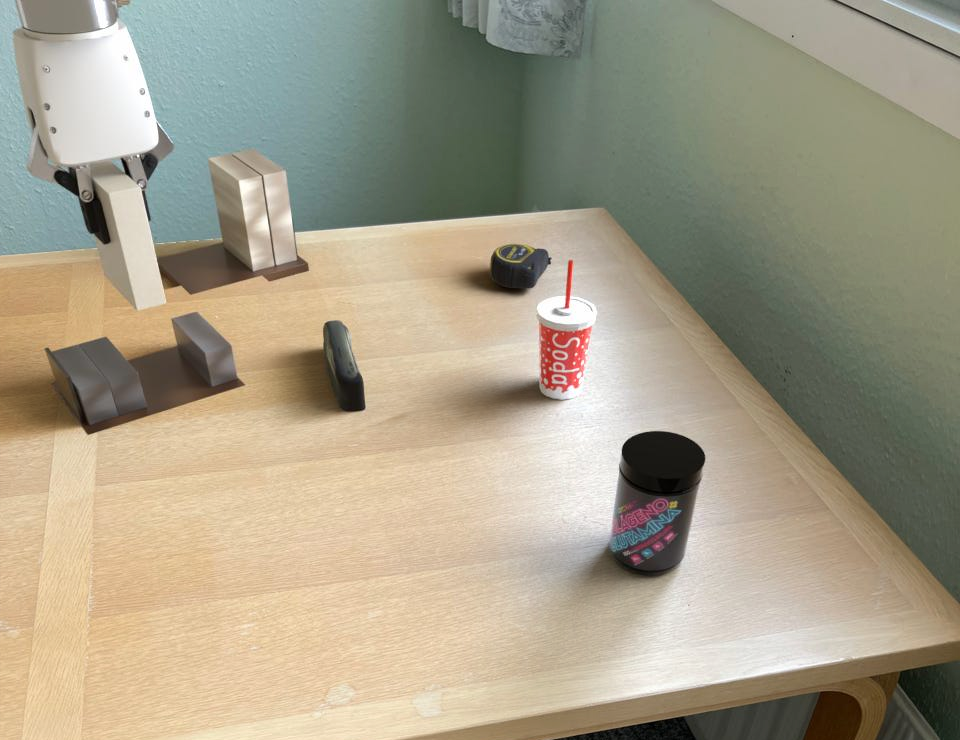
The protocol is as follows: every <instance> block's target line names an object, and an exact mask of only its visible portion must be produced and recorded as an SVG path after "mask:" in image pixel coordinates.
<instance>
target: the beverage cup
mask: <svg viewBox="0 0 960 740" xmlns="http://www.w3.org/2000/svg"><path fill="white" fill-rule="evenodd" d="M573 267H574V260H572V259H569V260H568V261H567V272H566V286H565V287H566V288H565V295H563V296H561V295H560V296H552V297H550V298H549V297H548V298H545V299H543V300H542V301H540V302H539V303H538V305H537V307H536V318H537V320H538V349H539V350H538V354H539V355H538V358H539V359H538V362H539V364H538V365H539V366H538V367H539V368H538V369H539V371H538V373H539V376H538V377H539V379H538V380H539V384H538V385H539V390H540V392H541V394H543V395H544V396H546V397H548V398H551V399H554V400H561V401H562V400H570V399H574V398H576V397H578V396H579V395H581V393H582V390H583V385H584V378H585V373H586V366H587V362H588V361H587V360H588V355H589V348H590V343H591V337H592V336H591V335H592V330H593V325H594V324H595V322H596V319H597V314H598V310H597V307H596V306H595V304H594V303H592V302H590V301H588V300H586V299H584V298H580V297H578V296H577V297H576V296H571V294H572V293H571V292H572V279H573V270H574V269H573Z"/></svg>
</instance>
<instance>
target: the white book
mask: <svg viewBox="0 0 960 740" xmlns="http://www.w3.org/2000/svg"><path fill="white" fill-rule="evenodd" d="M89 169H90V175H91V182H92V188H93V191H94V192H95V195H96V197H97V198H98V199H99V200H100V202H101V204H102V208H103V212H104V216H105V220H106V224H107V228H108V232H109V235H110V239H111V242H110V243H109V244H105V245H104V244H103V243H102V242H101V241H100V240H99V239H98V238H97V237H96V236H95V235H94V234H93V237H94V241H95V245H96V249H97V253H98V256H99V260H100V264H101V268H102V272H103V276H104V277H105V278H106V279H107V280H108V282H110V284H111V285H112V286H113V287H114V288H115V289H116V290H117V291H118V292H119V294H120V295H121V296H122V297H123V298H124V299H125V300H126V301H127V302H128V303H129V304H130V305H131V306H132V307H133V308H134V309H135V311H136V312H139V311H143V310H148V309H152V308H156V307H159V306H163V305H166V304H167V300H166V295H165V290H164V286H163V282H162V277H161V271H160V270H159V268H158V263H157V255H156V250H155V246H154V241H153V236H152V232H151V227H150V223H149V222H148V218H147V214H146V209H145V205H144V200H143V196H142V191H141V187H140V186H139V185H137V184H136V183H135V182H134V181H133V180H132V179H131V178H129V177H128V176H127V175H126V174H125V173H124V172H123V169H121V168H119V167H118V166H117V165H116V164H115V163H114V162H113V161H112V160H108V161H103V162H97V163H92V164H89Z"/></svg>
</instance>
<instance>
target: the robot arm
mask: <svg viewBox="0 0 960 740" xmlns="http://www.w3.org/2000/svg"><path fill="white" fill-rule="evenodd" d="M14 3H15V7H16V10H17V14H18V17H19V22H20V25H21V27H18V28H15V29H14V30H13V31H12V40H13V50H14V58H15V65H16V71H17V75H18V76H17V77H18V80H19V87H20V91H21V96H22V100H23V105H24V108H25V114H26V118H27V122H28V127H29V131H30V134H31V142H30V146H29V151H28V156H27V160H26V170H27V171H28V172H29V173H30V174H31V176H32V177H34V178H37V179H41V180H44V181H46V182H50V183H54V184H56V185H58V186H60V187H62V188H64V189H65V190H67V191H68V192H69V193H71V194H73V195H74V196H76V197H77V199H78V203H79V207H80V210H81V214H82V217H83V221H84V225H85V228H86V230H87V232H88V233H89V235H93V236H94V235H95V236H96V237H97V238H98V239H99V240H100V241H101V242H102V243H103V244H104V245H105V244H109V243H110V242H111V239H110V235H109V232H108V228H107V224H106V220H105V216H104V212H103V208H102V204H101V202H100V200H99V199H98V198H97V197H96V195H95V192H94V191H93V188H92V182H91V175H90V169H89V164H92V163H97V162H103V161H108V160H110V161H113V160H117V159H118V161H119V163H120V165H121V170H122V171H123V172H124V173H125V174H126V175H127V176H128V177H129V178H131V179H132V180H133V181H134V182H135V183H136V184H137V185H139V186H140V187H141V191H142V196H143V200H144V205H145V209H146V214H147V218H148V223H149V222H151V220H152V218H151V213H150V209H149V204H148V199H147V194H146V191H147V189H148V187H149V180H150V178H151V177H152V175H153V174H154V172H155V171H156V168H158V164H159V163H160V162H162V161H163V160H164V159H165V158H167V156H169V155H170V154H171V153H172V152H173V151H174V150H175V143H174V142H173V141H172V139H171V138H170V136H169V135H168V134H167V132H165V130H164V128H163V127H162V126H161V124H160V123H159V122H158V120H157V118H156V116H155V110H154V107H153V104H152V103H153V102H152V99H151V96H150V92H149V88H148V85H147V82H146V79H145V75H144V72H143V68H142V65H141V63H140V59H139V57H138V53H137V51H136V48H135V45H134V43H133V40H132V37H131V35H130V33H129V30H128V28H127V25H126V24H125V22H123V21H122V20H121V19H120V15H119V10H120V9H119V8H122V7H123V6H128V5H130V4H131V0H14ZM49 161H50V163H49ZM51 163H52V164H51ZM64 168H66V169H64Z"/></svg>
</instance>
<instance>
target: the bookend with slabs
mask: <svg viewBox="0 0 960 740" xmlns="http://www.w3.org/2000/svg"><path fill="white" fill-rule="evenodd" d="M207 163H208V168H209V173H210V178H211V185H212V190H213V195H214V196H213V197H214V202H215V207H216V212H217V213H216V214H217V217H218V224H219V228H220V234H221V240H222V242H217V243H213V244H210V245H209V244H208V245H205V246H201V247H199V248H198V247H197V248H193V249H189V250H186V251H181V252H178V253H173V254H169V255H165V256H161V257H156V259H157V263H158V268H159V272H160V273H162V274H163V276H165V277H166V278H167V279H168V280H169V281H170V282H171V283H172V284H173V285H174V286H175V287H182V288H183V289H184V290H185V291H186V292H187V293H188V294H190V295H191V296H192V295H195V294H198V293H203V292H206V291H211V290H213V289H218V288H221V287H225V286H229V285H232V284H236V283H240V282H243V281H247V280H251V279H255V278H259V277H263V278H264V279H265V280H266V281H268V282H271V281H275V280H278V279H279V280H280V279H282V278H286V277H290V276H293V275H296V274H297V275H298V274H301V273H305V272H308V271H310V266H309V262H308V261H306V260H305V259H304V258H302V257H301V256H300V255H299V254H298V247H297V240H296V232H295V223H294V218H293V216H292V210H291V209H292V208H291V203H290V194H289V193H290V192H289V186H288V178H287V170H285V169H284V168H283V167H281V166H280V165H278V164H277V163H275V162H274V161H272V160H271V159H269V158H268V157H266V156H265V155H263V154H262V153H260V152H258V150H256V149H254V148H251V149H246V150H242V151H236V152H232V153H227V154H222V155H218V156H213V157H208V158H207Z"/></svg>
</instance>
